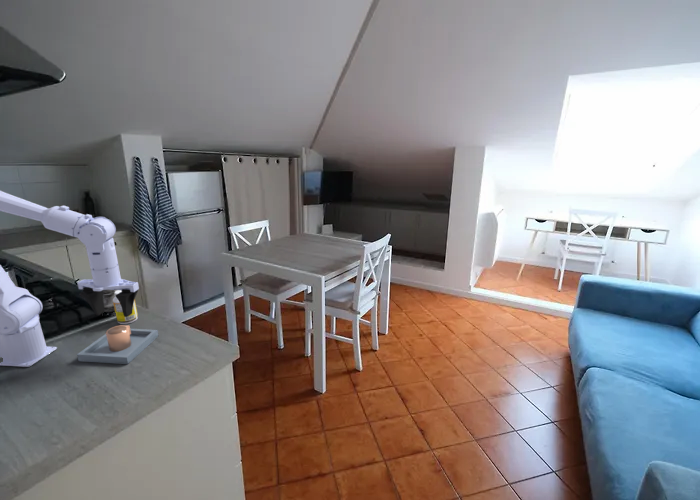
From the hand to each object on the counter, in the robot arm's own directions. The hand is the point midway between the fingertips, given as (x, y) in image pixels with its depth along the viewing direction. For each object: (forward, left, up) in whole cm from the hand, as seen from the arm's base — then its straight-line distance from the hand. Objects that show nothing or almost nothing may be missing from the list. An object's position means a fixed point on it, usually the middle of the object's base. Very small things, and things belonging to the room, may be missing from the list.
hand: (114, 314), depth 87 cm
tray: (0, 0, -10) cm, 10 cm away
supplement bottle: (-8, +14, -10) cm, 19 cm away
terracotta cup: (0, 0, -10) cm, 10 cm away
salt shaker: (-16, +18, -10) cm, 26 cm away
